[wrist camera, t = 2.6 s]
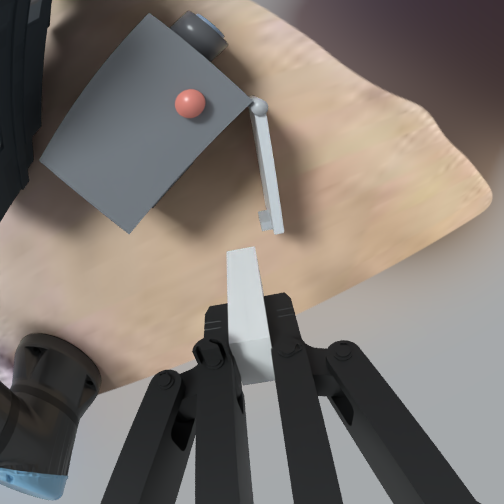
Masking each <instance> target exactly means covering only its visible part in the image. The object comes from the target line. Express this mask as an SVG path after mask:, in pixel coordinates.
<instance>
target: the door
mask: <svg viewBox="0 0 504 504" xmlns="http://www.w3.org/2000/svg"><path fill="white" fill-rule="evenodd" d="M248 97H249V98H250V99H251V100H252V101H253V102H252V103H250V104H249V105H248V106H247V107H248V108H249V113H250V118H251V124H252V130H253V135H254V141H255V147H256V152H257V158H258V164H259V170H260V176H261V181H262V187H263V193H264V199H265V205H266V209H267V210H264V211H259V212H258V215H259V221H260V225H261V229H262V231H265V230H270V229H273V231H274V234H280V233H284V227H283V220H282V213H281V206H280V199H279V192H278V185H277V179H276V172H275V165H274V159H273V153H272V146H271V140H270V134H269V128H268V122H267V116H266V112H267V111H268V104H267V103H266V102H265V101H264V100H262V99H260V98H258V97H256V96H254V95H250V96H248Z"/></svg>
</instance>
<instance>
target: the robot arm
mask: <svg viewBox="0 0 504 504" xmlns="http://www.w3.org/2000/svg"><path fill="white" fill-rule="evenodd" d="M227 295H228V303H227V304H221V305H215V306H210V307H209V309H208V310H207V312H206V314H205V325H204V330H205V331H204V338H203V339H201V340H200V341H198V342H197V343H196V344H195V346H194V347H193V351H192V352H193V354H194V356H195V359H196V361H197V363H198V365H197V366H195V367H194V368H193V369H191V370H188V371H186V372H183V373H181V374H179V373H177V372H176V371H174V370H164V371H161V372H159V373H157V374H156V375H155V376H154V377H153V378H152V380H151V382H150V384H149V386H148V389H147V391H146V393H145V396H144V398H143V400H142V403H141V405H140V407H139V410H138V412H137V414H136V417H135V419H134V421H133V424H132V426H131V429H130V431H129V433H128V436H127V438H126V441H125V443H124V446H123V448H122V450H121V453H120V456H119V458H118V461H117V463H116V466H115V468H114V470H113V473H112V475H111V478H110V481H109V483H108V486H107V488H106V491H105V493H104V496H103V499H102V501H101V504H175V502H176V498H177V495H178V492H179V488H180V485H181V481H182V478H183V475H184V471H185V468H186V465H187V461H188V458H189V455H190V451H191V448H192V445H193V441H194V438H195V435H196V457H195V458H196V461H195V504H253V492H252V482H251V471H250V460H249V448H248V437H247V426H246V413H245V400H244V394H243V392H242V384H243V385H249V384H255V383H262V382H268V381H273V380H275V382H276V389H277V395H278V402H279V408H280V415H281V421H282V428H283V434H284V441H285V447H286V454H287V460H288V467H289V473H290V480H291V487H292V494H293V500H294V504H343V502H342V497H341V492H340V488H339V484H338V479H337V475H336V470H335V466H334V461H333V457H332V453H331V449H330V445H329V440H328V436H327V432H326V428H325V424H324V419H323V415H322V411H321V407H320V403H319V399H318V396H327V398H328V399H329V401H330V403H331V404H332V406H333V407H334V409H335V410H336V412H337V414H338V415H339V417H340V419H341V420H342V422H343V424H344V425H345V427H346V429H347V430H348V432H349V433H350V435H351V437H352V438H353V440H354V441H355V443H356V445H357V446H358V448H359V449H360V451H361V453H362V454H363V456H364V457H365V459H366V461H367V462H368V464H369V465H370V467H371V469H372V470H373V472H374V473H375V475H376V477H377V478H378V479H379V481H380V483H381V485H382V486H383V488H384V489H385V491H386V493H387V494H388V495H389V497H390V499H391V500H392V502H393V503H394V504H481V503H479V502H477V501H476V500H475V499H474V497H473V496H472V494H471V493H470V492H469V490H468V489H467V488H466V486H465V485H464V483H463V482H462V481H461V479H460V478H459V477H458V475H457V474H456V473H455V471H454V470H453V469H452V467H451V466H450V464H449V463H448V462H447V460H446V459H445V458H444V456H443V455H442V454H441V452H440V451H439V450H438V448H437V447H436V446H435V444H434V443H433V442H432V441H431V439H430V438H429V437H428V435H427V434H426V433H425V432H424V430H423V429H422V427H421V426H420V425H419V423H418V422H417V421H416V420H415V418H414V417H413V416H412V414H411V413H410V412H409V410H408V409H407V408H406V407H405V405H404V404H403V403H402V401H401V400H400V399H399V397H397V395H396V394H395V392H394V391H393V390H392V389H391V387H390V386H389V385H388V383H387V382H386V381H385V380H384V378H383V377H382V376H381V374H380V373H379V372H378V371H377V369H376V368H375V367H374V366H373V364H372V363H371V362H370V361H369V359H368V358H367V357H366V355H365V354H364V353H363V352H362V351H361V350H360V348H359V347H358V346H357V345H356V344H355V343H353V342H350V341H344V340H343V341H337V342H334V343H333V344H331V345H330V346H329V347H328V349H322V348H313V347H311V346H309V345H307V344H305V342H304V341H303V340H302V338H301V335H300V331H299V327H298V323H297V320H296V316H295V312H294V308H293V305H292V301H291V298H290V297H289V296H288V295H287V294H286V293H285V292H284V293H279V294H273V295H268V296H264V293H263V287H262V282H261V277H260V271H259V266H258V261H257V256H256V250H255V246H254V247H249V248H243V249H238V250H232V251H227ZM241 381H242V384H241ZM100 384H101V376H100V373H99V371H98V369H97V367H96V366H95V365H94V363H93V362H92V361H91V360H90V359H89V358H88V357H87V356H86V355H85V354H84V353H83V352H81V351H80V350H79V349H77V348H76V347H74V346H73V345H71V344H69V343H68V342H66V341H64V340H61V339H59V338H57V337H54V336H50V335H46V334H30V335H27V336H25V337H24V338H23V339H22V340H21V342H20V344H19V346H18V348H17V350H16V353H15V359H14V369H13V380H12V386H11V388H10V389H9V388H8V387H6V386H5V385H4V384H3V383H2V382H1V381H0V484H2V485H4V486H6V487H8V488H11V489H13V490H16V491H19V492H21V493H25V494H27V495H31V496H34V497H37V498H42V499H46V500H57V499H59V498H60V497H61V496H62V495H63V491H64V487H65V484H66V480H67V479H68V476H67V475H68V470H69V465H70V460H71V454H72V450H73V445H74V441H75V437H76V432H77V428H78V424H79V420H80V418H81V417H82V416H83V414H84V413H85V411H86V410H87V409H88V407H89V406H90V405H91V403H92V402H93V401H94V399H95V398H96V396H97V394H98V391H99V388H100Z"/></svg>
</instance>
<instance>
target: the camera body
mask: <svg viewBox="0 0 504 504" xmlns="http://www.w3.org/2000/svg"><path fill="white" fill-rule="evenodd" d="M224 37H225V36H224V35H223V34H222V33H221V32H220V31H219V30H218V29H217V28H216V27H215V26H214V25H213V24H212V23H211V22H209V21H208V20H207V19H206V18H204V17H203V16H201V15H200V14H196V15H195V14H194V13H192V12H190V11H187V12H186V13H185V14H184V15H183V16H182V17H181V18H179V19H178V20H177V21H176V22H175V23H174V24H173V25H172V26H171V27H170V28H169V27H167V26H166V25H165V24H163V23H162V22H161V21H159V20H158V19H157V18H156V17H154V16H153V15H152V14H150V13H148V14H147V15H146V16H145V17H144V19H143V20H142V21H141V22H140V23H139V24H138V25H137V26H136V27H135V28H134V29H133V30H132V31H131V32H130V33H129V35H128V36H127V37H126V38H125V39H124V40H123V41H122V42H121V44H120V45H119V46H118V47H117V48H116V49H115V50H114V52H113V53H112V54H111V55H110V56H109V58H108V59H107V60H106V61H105V63H104V64H103V65H102V66H101V68H100V69H99V70H98V71H97V73H96V74H95V75H94V77H93V78H92V79H91V81H90V82H89V83H88V85H87V86H86V87H85V89H84V90H83V91H82V93H81V94H80V96H79V97H78V98H77V100H76V101H75V103H74V104H73V106H72V107H71V109H70V110H69V112H68V113H67V115H66V116H65V118H64V119H63V121H62V122H61V124H60V126H59V127H58V129H57V130H56V132H55V134H54V135H53V137H52V139H51V140H50V142H49V144H48V145H47V147H46V149H45V151H44V152H43V154H42V156H41V158H40V160H39V161H40V162H41V163H42V164H44V165H45V166H46V167H47V168H48V169H49V170H51V171H52V172H53V173H54V174H55V175H56V176H58V177H59V178H60V179H61V180H62V181H64V182H65V183H66V184H67V185H68V186H70V187H71V188H72V189H73V190H74V191H76V192H77V193H78V194H79V195H80V196H82V197H83V198H84V199H85V200H87V201H88V202H89V203H90V204H91V205H93V206H94V207H95V208H96V209H98V210H99V211H100V212H101V213H103V214H104V215H105V216H106V217H108V218H109V219H110V220H111V221H113V222H114V223H115V224H117V225H118V226H119V227H120V228H122V229H123V230H124V231H126V232H127V233H128V234H130V233H131V232H132V230H133V229H134V228H135V227H136V226H137V224H138V223H139V222H140V221H141V220H142V218H143V217H144V216H145V215H146V214H147V212H148V211H149V210H150V209H151V208H153V207H154V206H155V205H156V204H157V203H158V202H159V200H160V199H161V198H162V197H163V196H164V195H165V194H166V192H167V191H168V190H169V189H170V188H171V187H172V186H173V185H174V183H175V182H176V181H177V180H178V179H179V178H180V177H181V176H182V175H183V174H184V172H185V171H186V170H187V169H188V168H189V167H190V166H191V165H192V164H193V162H194V160H195V159H196V158H197V156H198V155H199V154H200V153H201V152H202V151H203V150H204V149H205V148H206V147H207V146H208V145H209V144H210V143H211V142H212V141H213V140H214V139H215V138H216V137H217V136H218V135H219V134H220V133H221V132H222V131H223V130H224V129H225V128H226V127H227V126H228V125H229V124H230V123H231V122H232V121H233V120H234V119H235V118H236V117H237V116H238V115H239V114H240V113H241V112H242V111H243V110H244V109H245V108H246V107H247V106H248V105H249V104H250V103H252V102H253V101H252V100H251V99H250V98H249V97H248V96H247V95H246V94H245V93H244V92H243V91H242V90H241V89H240V88H239V87H238V86H236V85H235V84H234V83H233V82H232V81H231V80H230V79H229V78H228V77H227V76H225V75H224V74H223V73H222V72H221V71H220V70H219V69H218V68H216V67H215V66H214V65H213V64H212V63H211V61H212V60H213V59H214V58H215V57H216V56H217V55H218V54H220V53H221V52H222V51H223V50H224V49H225V48H226V47H227V46H228V43H227V42H226V41H225V40H224V39H223V38H224Z"/></svg>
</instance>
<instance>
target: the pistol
mask: <svg viewBox="0 0 504 504" xmlns="http://www.w3.org/2000/svg"><path fill="white" fill-rule="evenodd" d="M51 3H52V0H0V222H1V220H2V218H3V217H4V215H5V213H6V212H7V210H8V209H9V207H10V205H11V204H12V202H13V201H14V199H15V198H16V196H17V195H18V193H19V192H20V190H21V189H22V190H23V189H24V188H25V186H26V185H27V183H28V182H29V176H28V167H29V166H30V165H31V163H32V162H33V160H34V159H33V146H32V136H33V135H34V134H35V133H36V132H37V131H38V130H39V128H40V127H41V101H42V77H43V63H44V52H45V43H46V34H47V28H48V27H49V26H50V13H51Z"/></svg>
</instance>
